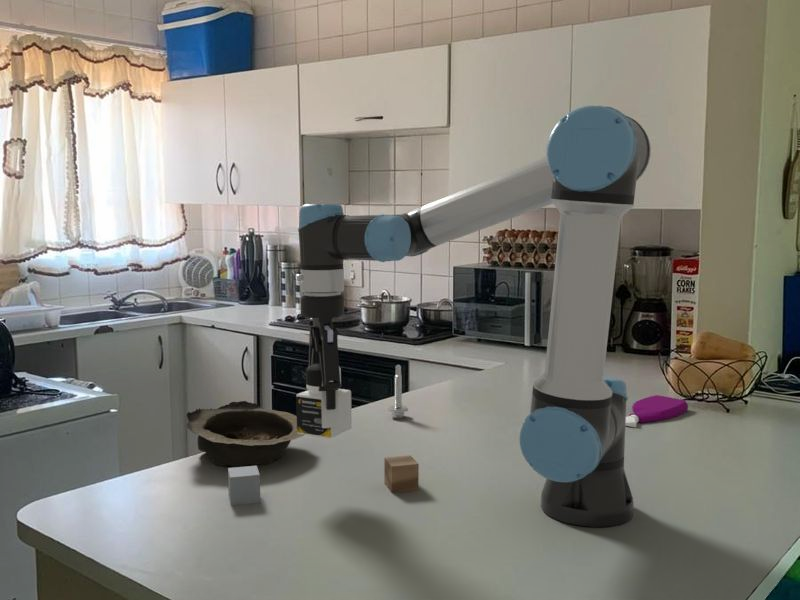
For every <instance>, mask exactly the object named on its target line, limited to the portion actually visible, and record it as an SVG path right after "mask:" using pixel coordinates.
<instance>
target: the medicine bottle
mask: <svg viewBox="0 0 800 600" xmlns="http://www.w3.org/2000/svg"><path fill="white" fill-rule="evenodd" d="M308 366H309V365H308ZM308 366H307V367H306V370H305V374H306V375H305V377H306V382H305V383H306V389H307V390H305V391H301V392H299V393H297V394H296V395H295V399H296V401H295V402H296V403H295V405H296V416H297V433H298V434H303V435H304V436H311V437H317V438H323V439H329V440H331V439H333V438H335V437H337V436H339V435H341V434H343V433H345V432H347V431H349V430H351V429H352V428H353V427H352V426H353V425H352V423H353V422H352V391H351V390H350V389H345V388H340V389H338V427H333V428H322V408H321V391H319V387H322V386H323V385H322V376H321V367H320V363H317V364H313V365H311V366H309V367H308ZM341 370H342V368H341V367H340V366H339V372H340V383H341V384H342V371H341ZM329 382H333V381H329Z"/></svg>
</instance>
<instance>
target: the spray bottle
mask: <svg viewBox="0 0 800 600" xmlns="http://www.w3.org/2000/svg"><path fill="white" fill-rule="evenodd" d="M631 407H632V408H631V409H632V413H630V414H629V415H626V423H625V427H630V428H637V424H643V423H652V422H658V421H665V420H670V419H674V418H677V417H679V416H680V415H682V414H684V413H686V412H687V411H688V408H689V406H688V403H687V402H686V400H684V399H680V398H675V397H669V396H663V395H658V394H655V395H651V396H648V397H644V398H641V399H639V400H637V401H635V402H634V403H633V404H632V406H631Z"/></svg>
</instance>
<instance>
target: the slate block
mask: <svg viewBox="0 0 800 600" xmlns="http://www.w3.org/2000/svg"><path fill="white" fill-rule="evenodd" d="M260 475H261V474H260V472H259V468H258V465H250V466H249V465H245V466H240V467H227V480H228V481H227V486H228V500H229V503H230V506H237V505H239V506H240V505H247V504H255V503H256V504H257V503H261V478H260V477H261V476H260Z"/></svg>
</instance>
